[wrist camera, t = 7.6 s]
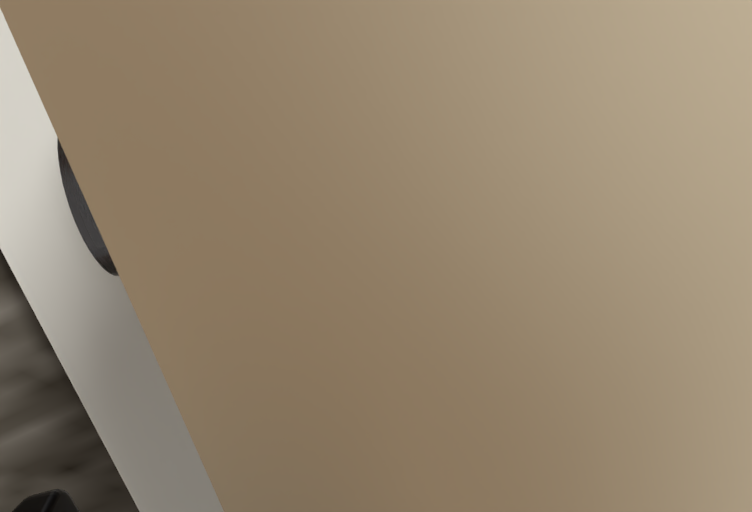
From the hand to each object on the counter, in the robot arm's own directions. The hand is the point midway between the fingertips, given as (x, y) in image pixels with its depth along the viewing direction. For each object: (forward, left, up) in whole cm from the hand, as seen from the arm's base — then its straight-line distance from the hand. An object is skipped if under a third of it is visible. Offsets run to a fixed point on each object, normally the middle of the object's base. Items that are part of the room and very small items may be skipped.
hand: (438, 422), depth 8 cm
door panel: (0, 0, -4) cm, 4 cm away
